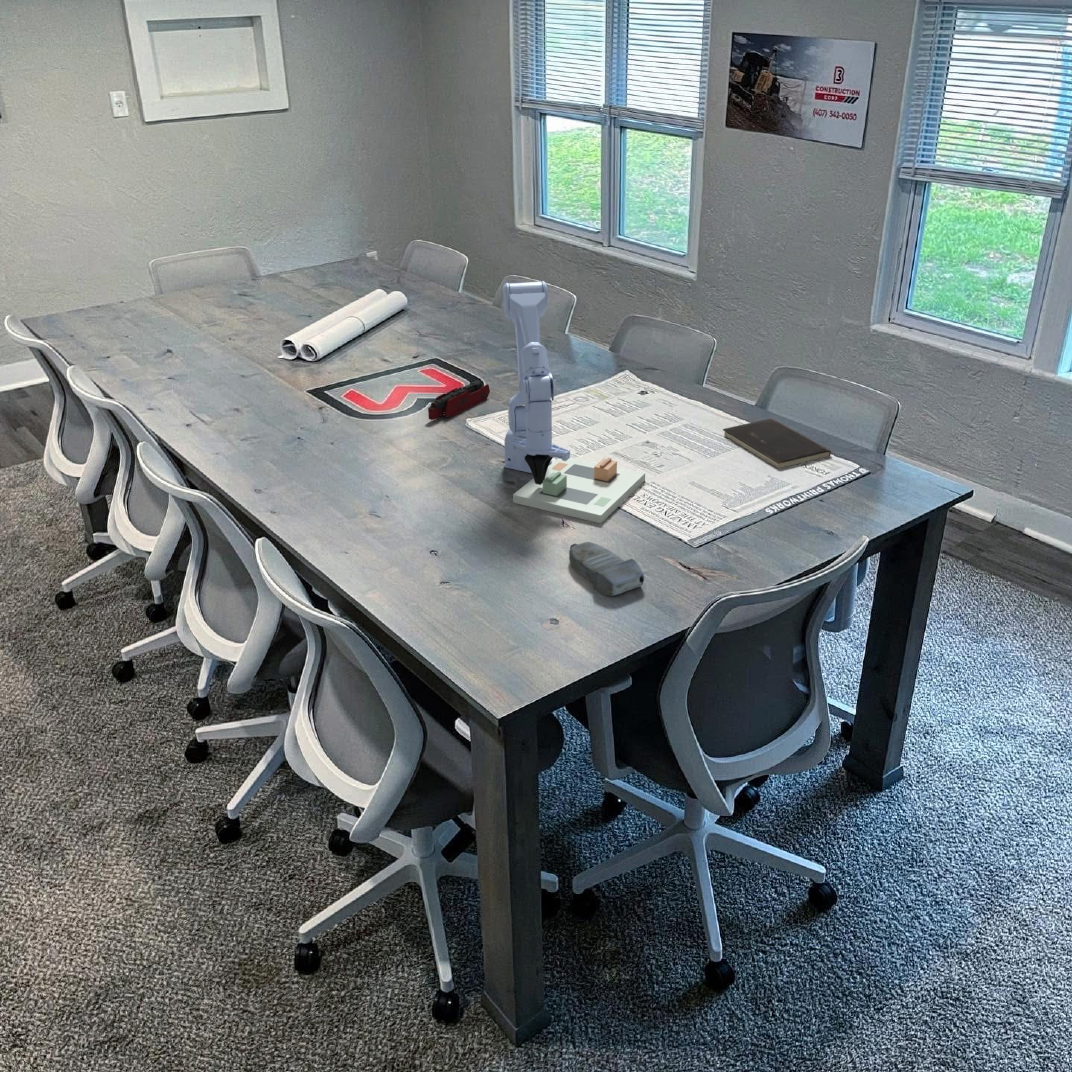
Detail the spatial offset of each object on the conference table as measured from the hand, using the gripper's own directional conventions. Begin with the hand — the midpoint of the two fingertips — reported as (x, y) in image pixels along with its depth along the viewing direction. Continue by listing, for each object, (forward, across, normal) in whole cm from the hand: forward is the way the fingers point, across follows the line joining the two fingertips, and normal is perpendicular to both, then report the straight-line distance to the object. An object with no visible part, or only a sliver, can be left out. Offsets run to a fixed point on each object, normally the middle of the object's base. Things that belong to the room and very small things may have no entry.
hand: (539, 482), depth 240 cm
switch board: (+3, +7, +6) cm, 10 cm away
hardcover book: (+4, +39, +52) cm, 65 cm away
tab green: (+1, +4, 0) cm, 4 cm away
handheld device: (+4, +27, -25) cm, 37 cm away
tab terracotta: (+1, +11, +12) cm, 16 cm away
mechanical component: (+4, -45, +36) cm, 58 cm away
